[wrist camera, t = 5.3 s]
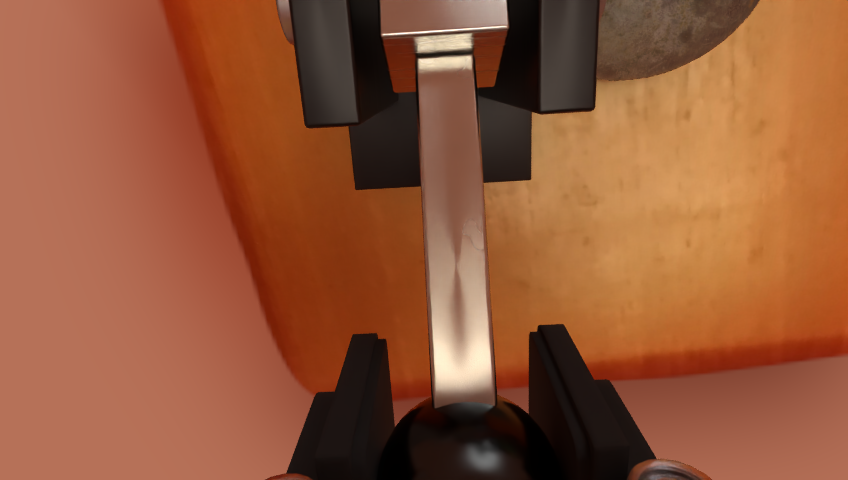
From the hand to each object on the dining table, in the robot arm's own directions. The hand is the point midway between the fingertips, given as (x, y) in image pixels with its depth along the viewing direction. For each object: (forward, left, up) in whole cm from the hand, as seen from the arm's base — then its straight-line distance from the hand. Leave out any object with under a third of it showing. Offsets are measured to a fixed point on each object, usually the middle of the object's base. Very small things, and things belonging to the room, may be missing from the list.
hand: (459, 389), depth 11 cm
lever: (0, +3, 0) cm, 3 cm away
